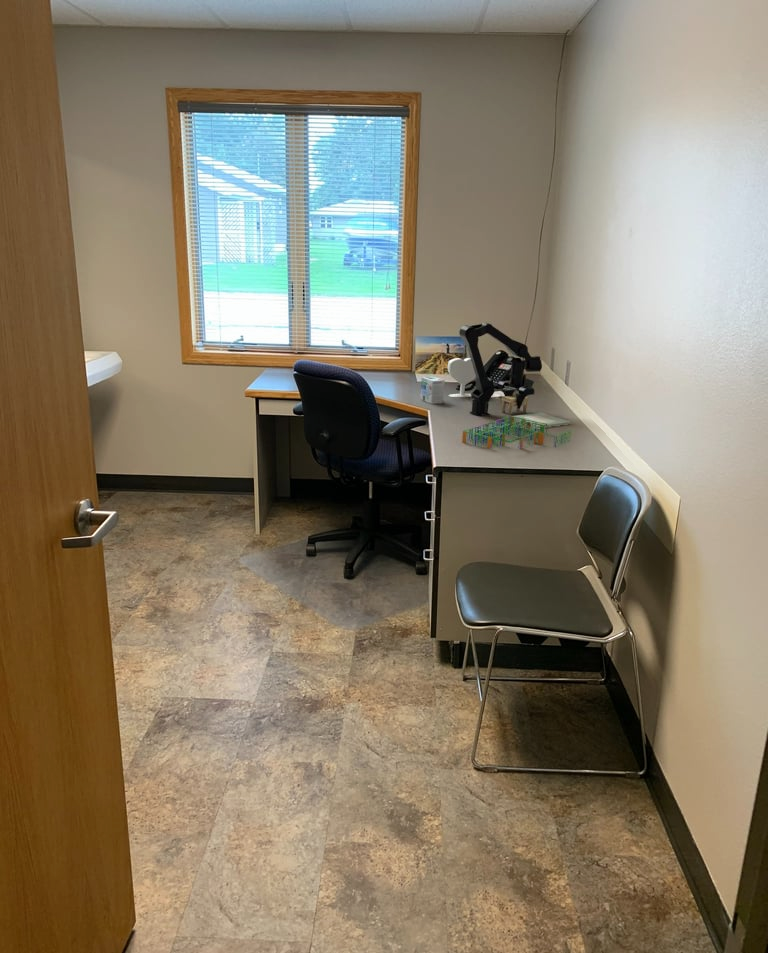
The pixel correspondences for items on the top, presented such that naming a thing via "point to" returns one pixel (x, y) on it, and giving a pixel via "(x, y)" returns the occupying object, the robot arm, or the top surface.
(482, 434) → the house model
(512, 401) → the maple stool
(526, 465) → the top surface
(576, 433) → the top surface
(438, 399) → the light bulb box
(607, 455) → the top surface
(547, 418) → the sage board
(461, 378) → the heart sculpture
